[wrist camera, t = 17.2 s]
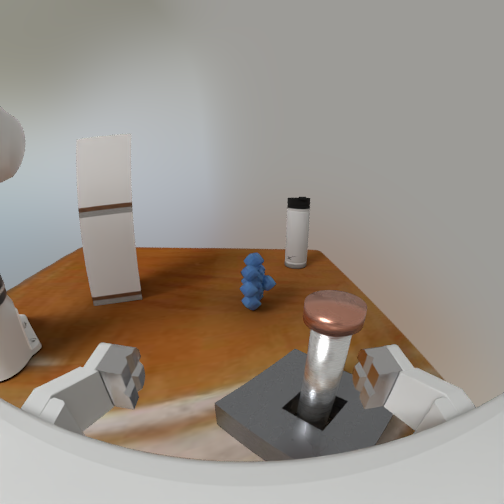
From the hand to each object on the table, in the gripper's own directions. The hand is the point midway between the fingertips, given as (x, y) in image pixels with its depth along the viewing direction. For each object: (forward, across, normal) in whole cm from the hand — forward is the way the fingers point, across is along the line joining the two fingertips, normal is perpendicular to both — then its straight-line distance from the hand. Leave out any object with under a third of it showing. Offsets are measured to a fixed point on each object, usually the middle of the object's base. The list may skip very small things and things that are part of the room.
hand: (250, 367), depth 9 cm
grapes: (+40, -3, +21) cm, 45 cm away
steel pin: (+11, -8, +20) cm, 24 cm away
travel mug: (+66, -15, +21) cm, 71 cm away
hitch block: (+11, -8, +20) cm, 24 cm away
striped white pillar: (+46, +30, +22) cm, 59 cm away
